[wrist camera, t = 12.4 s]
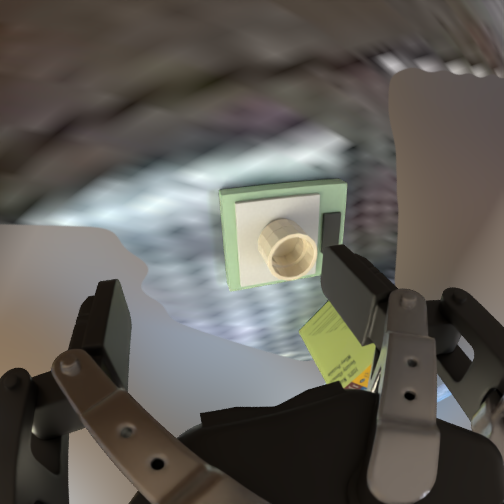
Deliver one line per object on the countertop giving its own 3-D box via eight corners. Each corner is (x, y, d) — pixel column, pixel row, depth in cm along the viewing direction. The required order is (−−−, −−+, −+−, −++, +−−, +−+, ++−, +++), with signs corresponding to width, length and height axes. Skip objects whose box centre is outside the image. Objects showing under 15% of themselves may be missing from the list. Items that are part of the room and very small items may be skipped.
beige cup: (255, 220, 39) (267, 237, 34) (302, 214, 40) (319, 230, 35) (257, 264, 42) (268, 284, 37) (301, 256, 43) (315, 275, 38)
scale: (218, 189, 39) (222, 197, 36) (339, 178, 42) (350, 184, 39) (227, 282, 46) (231, 295, 43) (332, 263, 49) (341, 274, 46)
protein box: (296, 331, 54) (332, 398, 41) (357, 268, 51) (410, 325, 37) (330, 348, 59) (365, 407, 46) (384, 293, 56) (432, 345, 42)
